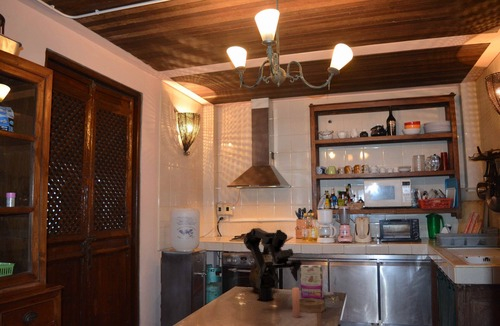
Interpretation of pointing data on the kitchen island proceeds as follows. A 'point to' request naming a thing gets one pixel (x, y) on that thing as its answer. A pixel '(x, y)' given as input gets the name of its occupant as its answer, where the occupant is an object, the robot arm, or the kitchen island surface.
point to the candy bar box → (311, 281)
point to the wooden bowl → (311, 305)
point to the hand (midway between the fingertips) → (287, 281)
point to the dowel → (296, 302)
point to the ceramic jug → (254, 269)
